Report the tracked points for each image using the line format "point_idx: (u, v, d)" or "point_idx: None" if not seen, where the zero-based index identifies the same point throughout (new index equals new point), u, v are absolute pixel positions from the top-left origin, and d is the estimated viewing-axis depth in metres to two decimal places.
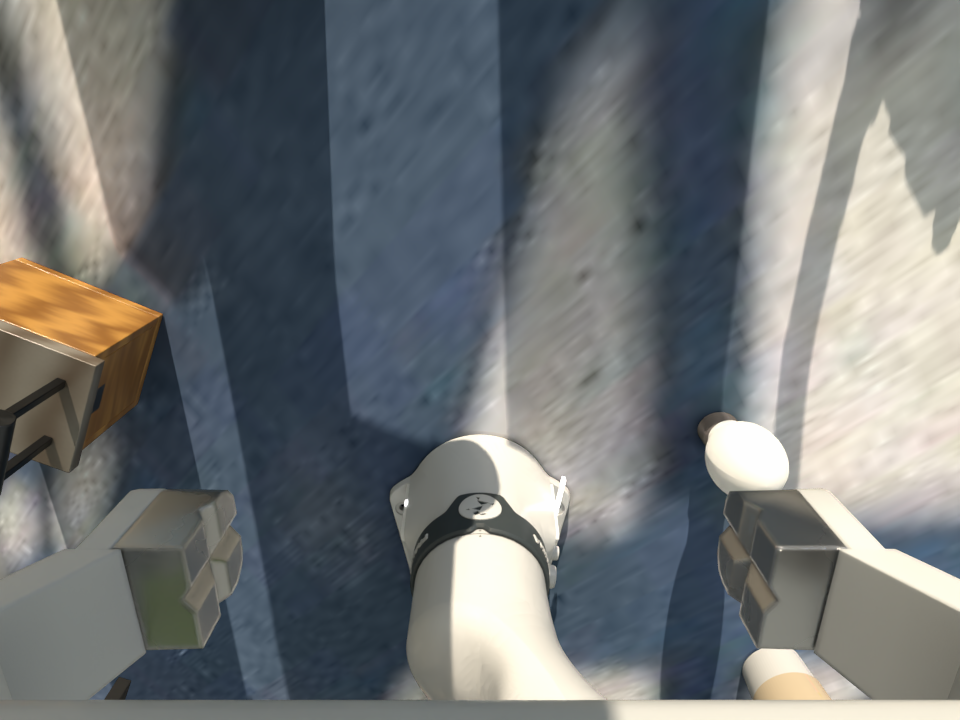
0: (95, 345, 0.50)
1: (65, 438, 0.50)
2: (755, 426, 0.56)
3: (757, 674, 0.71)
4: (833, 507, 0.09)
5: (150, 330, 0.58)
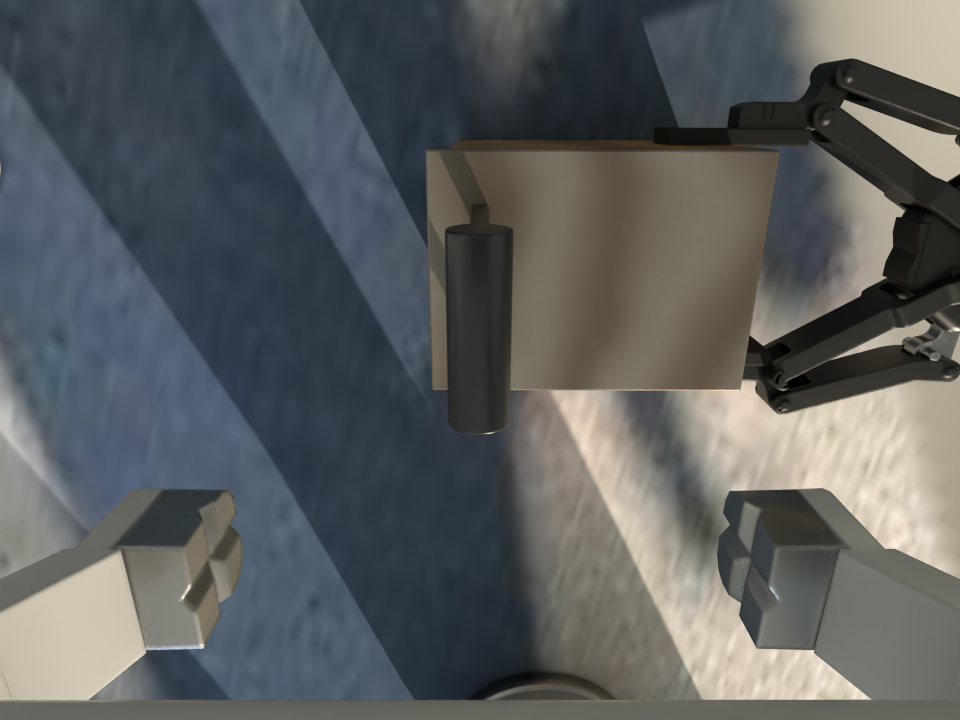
0: None
1: None
2: None
3: None
4: (833, 507, 0.09)
5: None
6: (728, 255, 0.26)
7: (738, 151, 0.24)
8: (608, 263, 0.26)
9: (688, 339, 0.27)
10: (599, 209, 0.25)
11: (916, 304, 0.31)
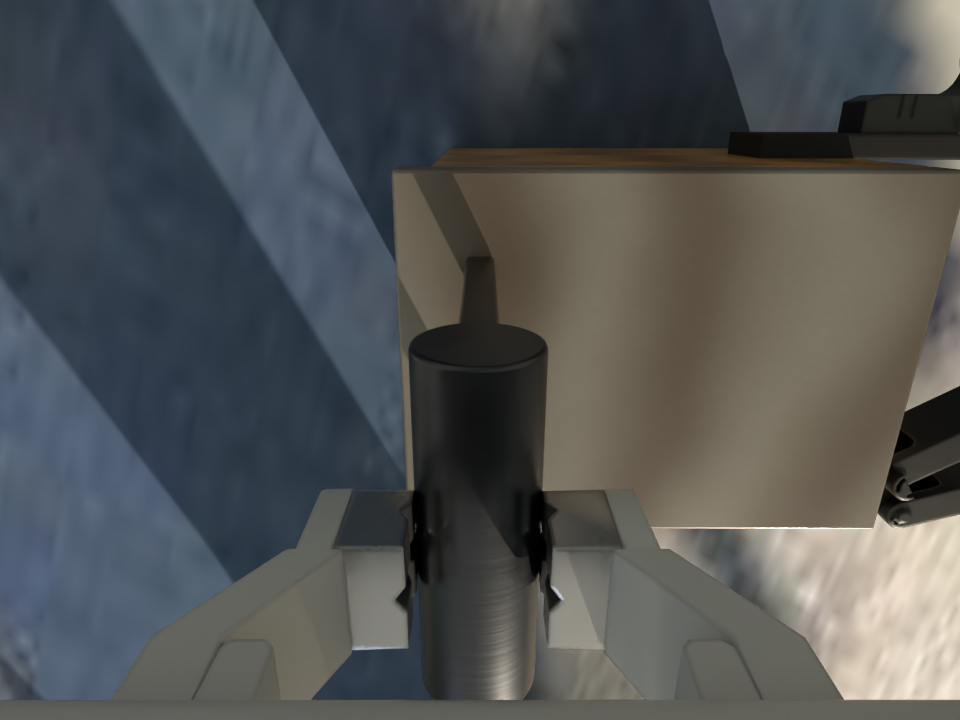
0: None
1: (432, 295, 0.16)
2: None
3: None
4: (630, 507, 0.09)
5: None
6: (872, 334, 0.16)
7: (901, 172, 0.15)
8: (682, 346, 0.17)
9: (800, 457, 0.18)
10: (671, 264, 0.16)
11: None
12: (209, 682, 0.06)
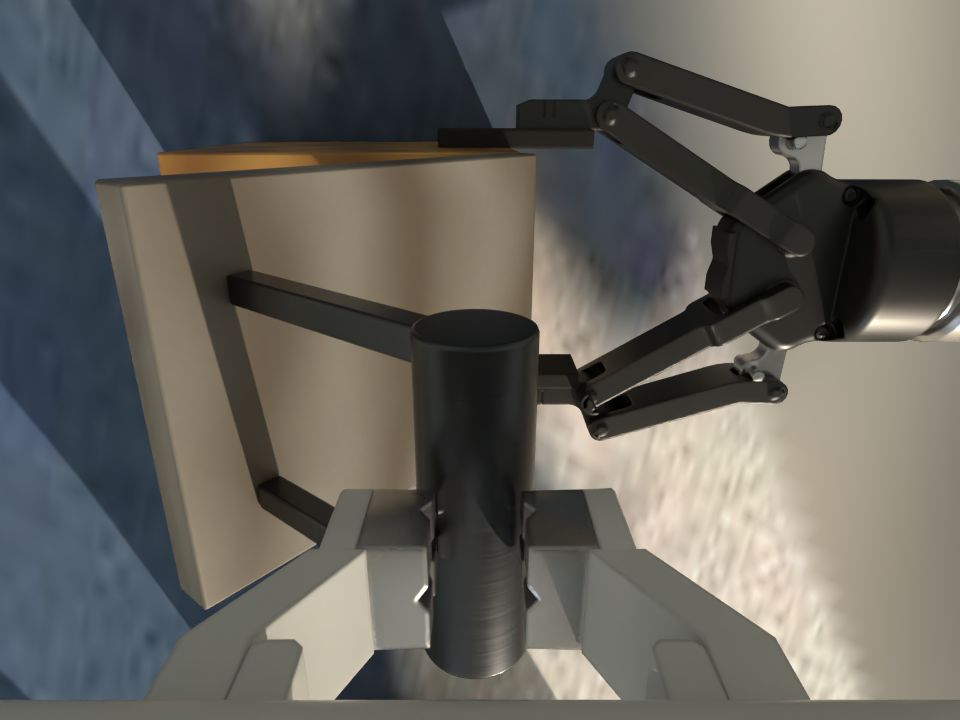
0: None
1: (192, 327, 0.14)
2: None
3: None
4: (608, 507, 0.09)
5: None
6: (510, 277, 0.22)
7: (508, 157, 0.21)
8: None
9: None
10: (395, 248, 0.18)
11: (728, 321, 0.29)
12: (241, 682, 0.06)
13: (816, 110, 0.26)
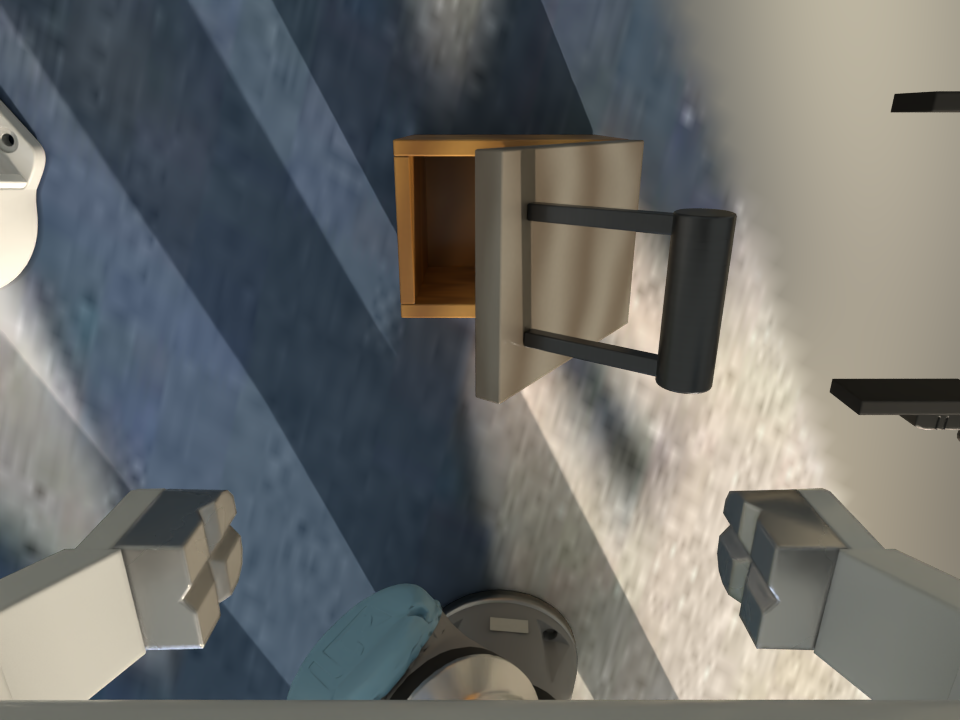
0: None
1: (513, 231, 0.25)
2: None
3: None
4: (833, 507, 0.09)
5: None
6: None
7: (632, 141, 0.32)
8: (586, 241, 0.30)
9: (612, 292, 0.34)
10: (584, 196, 0.29)
11: None
12: None
13: None
